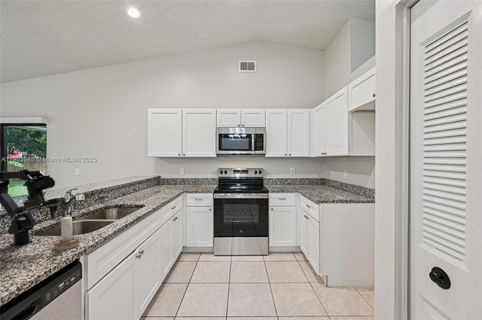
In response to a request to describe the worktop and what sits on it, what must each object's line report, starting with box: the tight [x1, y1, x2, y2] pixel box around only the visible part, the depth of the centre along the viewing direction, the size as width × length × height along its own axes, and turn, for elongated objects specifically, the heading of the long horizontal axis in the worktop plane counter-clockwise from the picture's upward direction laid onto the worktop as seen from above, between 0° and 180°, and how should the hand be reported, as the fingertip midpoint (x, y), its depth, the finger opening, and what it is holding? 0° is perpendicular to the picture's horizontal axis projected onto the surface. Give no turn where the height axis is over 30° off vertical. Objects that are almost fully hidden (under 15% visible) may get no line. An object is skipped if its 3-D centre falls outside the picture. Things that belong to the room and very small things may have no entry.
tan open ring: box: [53, 235, 80, 251], centre depth 124 cm, size 10×10×3 cm
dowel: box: [60, 216, 73, 242], centre depth 123 cm, size 4×4×14 cm
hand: (42, 222), depth 124 cm, fingers open, 9 cm apart
